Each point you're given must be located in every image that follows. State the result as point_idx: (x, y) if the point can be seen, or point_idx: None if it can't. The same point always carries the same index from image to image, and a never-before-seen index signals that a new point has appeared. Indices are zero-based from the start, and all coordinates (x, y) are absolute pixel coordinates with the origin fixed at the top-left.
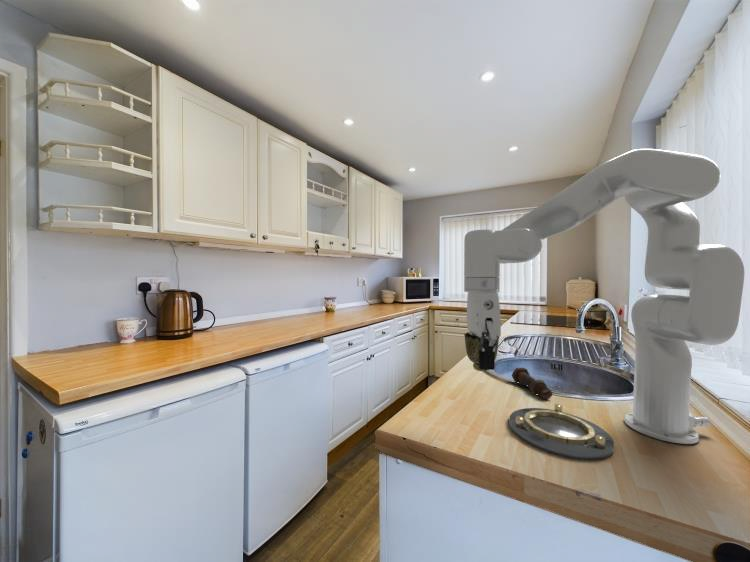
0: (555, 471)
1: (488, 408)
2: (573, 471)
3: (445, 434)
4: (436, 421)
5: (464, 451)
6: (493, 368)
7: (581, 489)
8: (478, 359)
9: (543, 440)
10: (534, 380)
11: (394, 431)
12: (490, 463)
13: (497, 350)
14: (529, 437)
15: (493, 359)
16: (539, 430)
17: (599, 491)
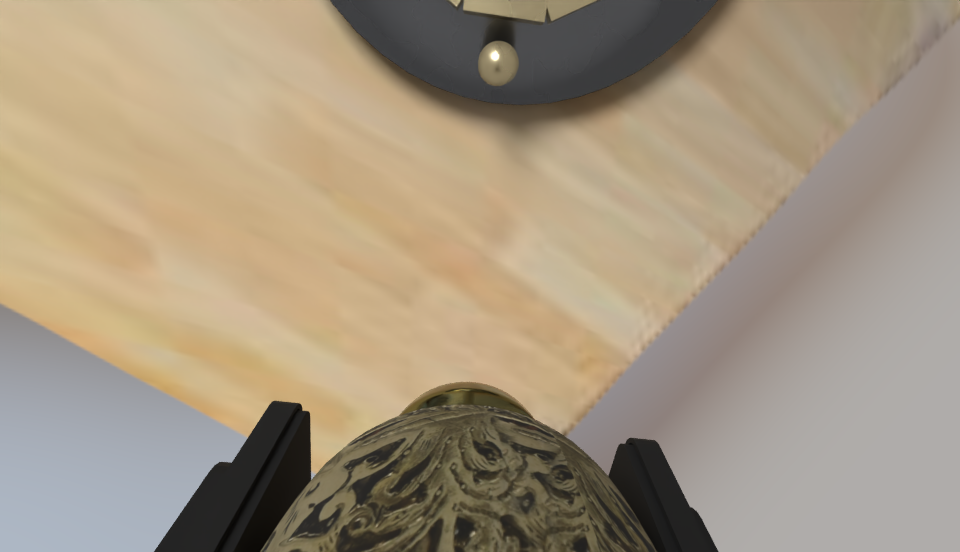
0: (784, 99)
1: (240, 101)
2: (808, 19)
3: (491, 384)
4: (392, 387)
5: (603, 359)
6: (651, 447)
7: (891, 72)
8: None
9: (636, 22)
10: None
11: None
12: (682, 306)
13: (591, 511)
14: (599, 79)
15: (693, 532)
16: (590, 2)
17: (926, 6)
